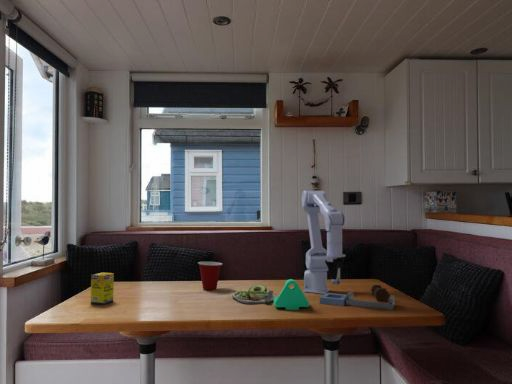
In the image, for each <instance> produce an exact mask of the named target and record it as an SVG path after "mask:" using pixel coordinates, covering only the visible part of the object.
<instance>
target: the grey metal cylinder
mask: <svg viewBox="0 0 512 384" xmlns="http://www.w3.org/2000/svg"><path fill="white" fill-rule="evenodd" d="M330 282H331V283H330V284H331V285H340V284H341V271H340V268H339V267H338V273H337V279H336V280H335V279H331V278H330Z"/></svg>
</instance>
